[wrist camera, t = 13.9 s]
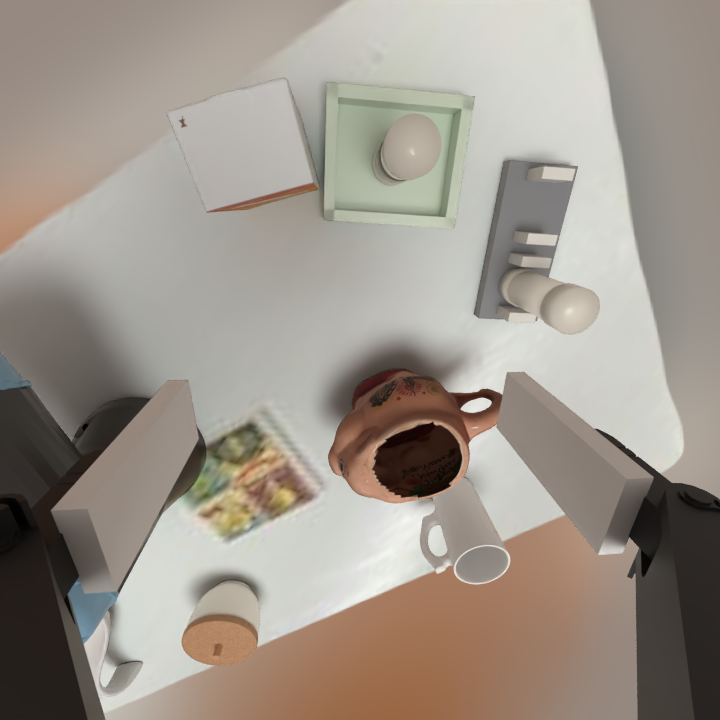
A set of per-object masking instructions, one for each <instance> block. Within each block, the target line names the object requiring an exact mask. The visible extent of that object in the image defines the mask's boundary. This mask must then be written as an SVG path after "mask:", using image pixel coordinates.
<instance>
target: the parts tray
mask: <svg viewBox="0 0 720 720" xmlns="http://www.w3.org/2000/svg"><path fill="white" fill-rule="evenodd" d="M474 99H475V96H467V95H457V94H446V93H436V92H426V91H416V90H405V89H395V88H385V87H375V86H364V85H354V84H344V83H334V82H327V93H326V136H325V179H324V220H330V221H345V222H360V223H375V224H390V225H405V226H420V227H435V228H450V229H454V226H455V220H456V214H457V207H458V201H459V194H460V188H461V182H462V175H463V169H464V163H465V156H466V150H467V144H468V137H469V131H470V125H471V118H472V112H473V105H474ZM412 113H418V114H422V115H425V116H427V117H428V118H430V119H431V120H432V121H433V122H434V123H435V125H436V126H437V128H438V130H439V133H440V136H441V152H440V156H439V159H438V161H437V163H436V165H435V166H434V167H433V169H432V170H431V171H430V172H428V173H427V174H426V175H424V176H422V177H419V178H416V179H413V180H406V181H405V182H403V183H401V184H398V185H395V186H387V185H384V184H382V183H381V182H380V181H378V179H377V178H376V177H375V175H374V173H373V170H372V157H373V154H374V152H375V150H376V149H377V147H378V146H379V144H380V143H381V142H382V141H383V140H384V138H385V136H386V134H387V133H388V131H389V130H390V128H391V127H392V125H393V124H394V123H395V122H396V121H397V120H398V119H399V118H401V117H403V116H405V115H407V114H412Z"/></svg>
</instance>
